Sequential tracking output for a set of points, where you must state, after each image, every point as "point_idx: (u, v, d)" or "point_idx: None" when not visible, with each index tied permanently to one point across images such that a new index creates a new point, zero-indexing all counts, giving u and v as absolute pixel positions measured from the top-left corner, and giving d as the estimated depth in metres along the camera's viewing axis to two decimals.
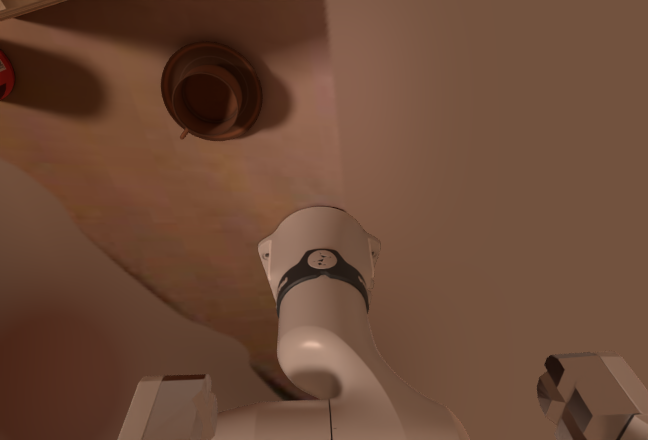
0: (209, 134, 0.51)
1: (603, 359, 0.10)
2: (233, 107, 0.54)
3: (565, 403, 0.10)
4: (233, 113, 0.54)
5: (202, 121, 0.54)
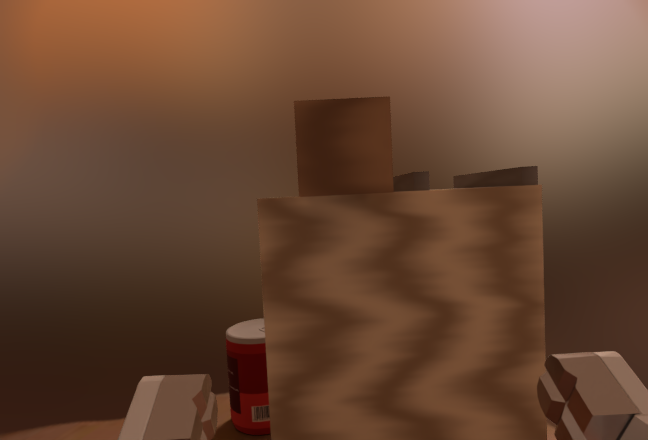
0: None
1: (603, 359, 0.10)
2: None
3: (565, 403, 0.10)
4: None
5: None
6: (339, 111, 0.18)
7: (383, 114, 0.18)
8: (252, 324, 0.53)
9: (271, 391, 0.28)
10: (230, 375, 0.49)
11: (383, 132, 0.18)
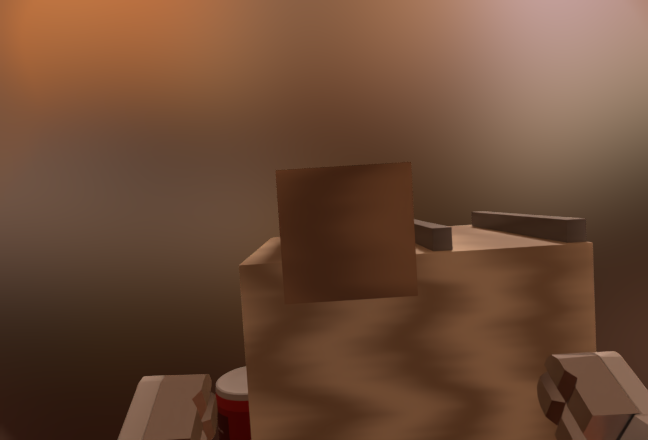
0: None
1: (603, 359, 0.10)
2: None
3: (565, 403, 0.10)
4: None
5: None
6: (340, 184, 0.13)
7: (402, 187, 0.13)
8: (245, 372, 0.48)
9: None
10: (220, 433, 0.43)
11: (402, 212, 0.13)
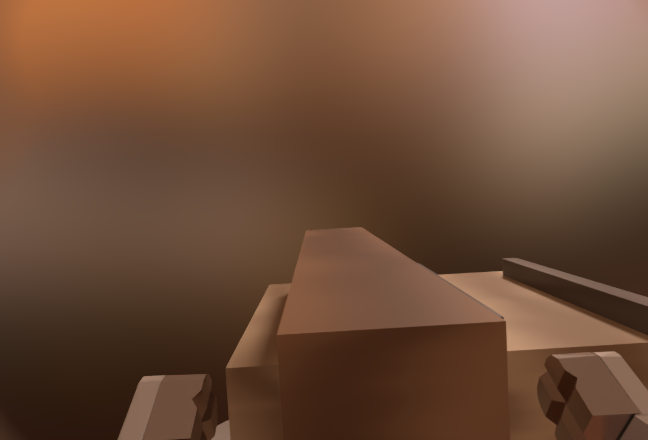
0: None
1: (603, 359, 0.10)
2: None
3: (565, 403, 0.10)
4: None
5: None
6: (386, 357, 0.08)
7: (490, 363, 0.08)
8: None
9: None
10: None
11: (490, 403, 0.08)
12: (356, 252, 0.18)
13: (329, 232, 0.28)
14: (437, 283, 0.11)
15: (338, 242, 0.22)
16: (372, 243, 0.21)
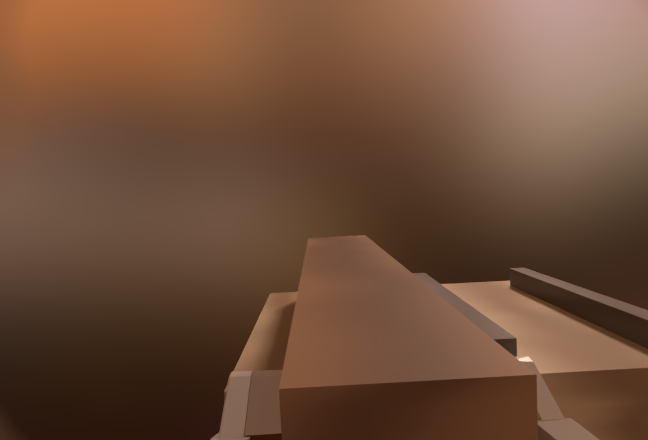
0: None
1: None
2: None
3: None
4: None
5: None
6: (401, 414, 0.07)
7: (519, 421, 0.07)
8: None
9: None
10: None
11: None
12: (361, 269, 0.17)
13: (332, 241, 0.28)
14: (452, 315, 0.10)
15: (342, 255, 0.21)
16: (377, 257, 0.20)
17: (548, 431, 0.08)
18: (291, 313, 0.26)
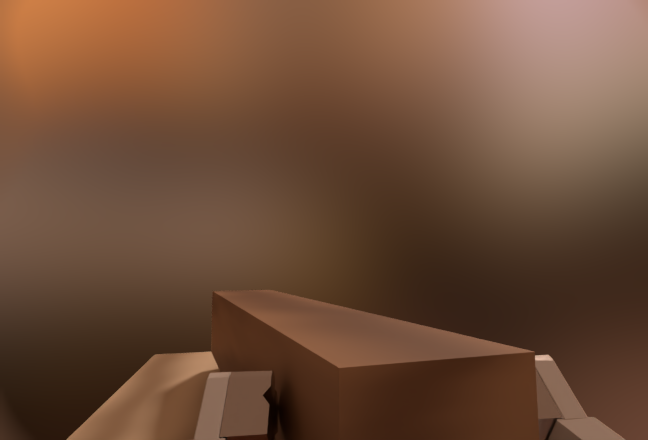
0: None
1: None
2: None
3: None
4: None
5: None
6: (439, 390, 0.08)
7: (524, 392, 0.08)
8: None
9: None
10: None
11: (524, 433, 0.08)
12: (302, 307, 0.17)
13: (242, 293, 0.27)
14: (425, 328, 0.11)
15: (267, 300, 0.21)
16: (306, 301, 0.20)
17: (571, 430, 0.08)
18: (149, 388, 0.26)
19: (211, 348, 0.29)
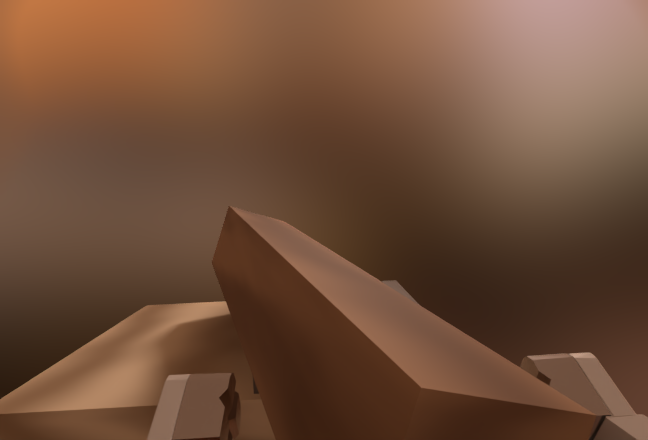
0: None
1: (578, 360, 0.10)
2: None
3: None
4: None
5: None
6: (502, 430, 0.07)
7: None
8: None
9: None
10: None
11: None
12: (330, 263, 0.17)
13: (260, 218, 0.27)
14: (469, 339, 0.11)
15: (290, 239, 0.21)
16: (329, 253, 0.20)
17: (622, 428, 0.08)
18: (140, 328, 0.26)
19: (213, 260, 0.29)
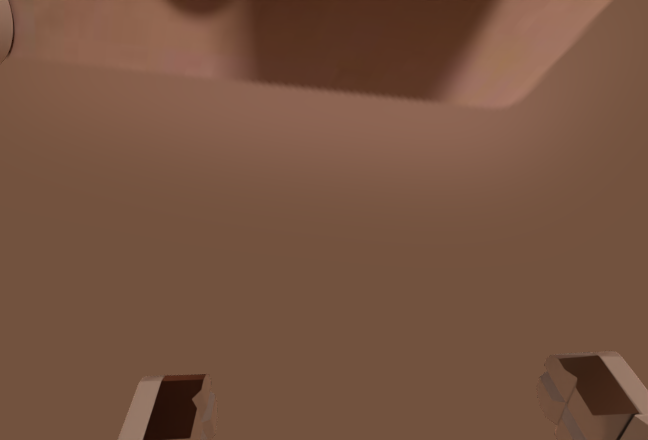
0: None
1: (603, 359, 0.10)
2: None
3: (565, 403, 0.10)
4: None
5: None
6: None
7: None
8: None
9: None
10: None
11: None
12: None
13: None
14: None
15: None
16: None
17: None
18: None
19: None
